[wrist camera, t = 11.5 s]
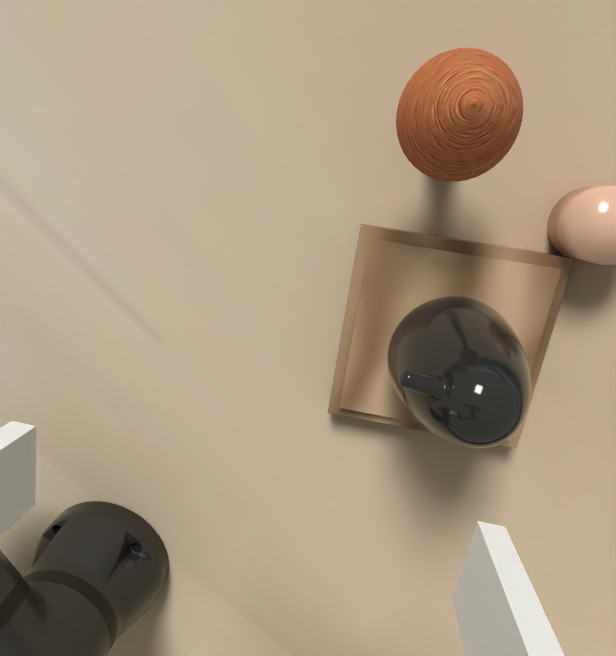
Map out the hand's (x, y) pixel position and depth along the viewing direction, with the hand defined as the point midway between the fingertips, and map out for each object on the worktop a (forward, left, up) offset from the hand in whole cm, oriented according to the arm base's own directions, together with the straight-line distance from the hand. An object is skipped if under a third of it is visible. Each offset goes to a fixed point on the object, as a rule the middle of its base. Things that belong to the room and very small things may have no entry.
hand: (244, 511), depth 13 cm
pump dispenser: (+11, -2, -29) cm, 31 cm away
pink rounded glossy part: (+21, +10, -32) cm, 40 cm away
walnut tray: (+11, -2, -32) cm, 34 cm away
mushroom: (+7, +15, -32) cm, 36 cm away
